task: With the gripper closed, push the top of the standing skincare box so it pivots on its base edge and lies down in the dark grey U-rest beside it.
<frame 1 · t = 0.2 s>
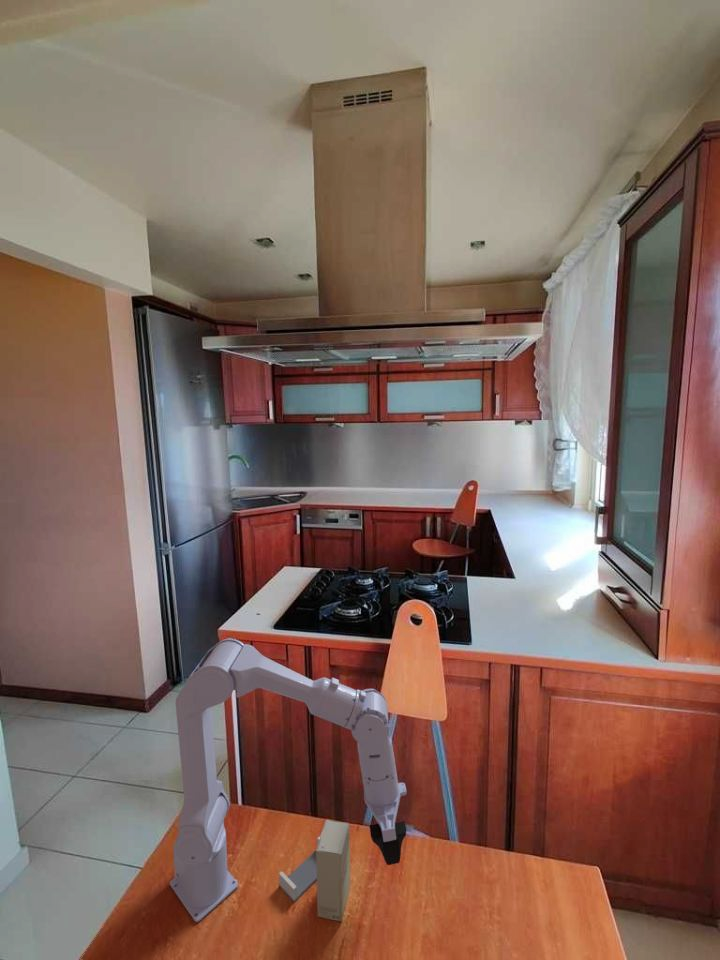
hand: (389, 840, 76), 11 cm above the table, tool pointing down, fingers open, 7 cm apart
u rest: (307, 873, 81), on the table
skincare box: (334, 901, 77), on the table
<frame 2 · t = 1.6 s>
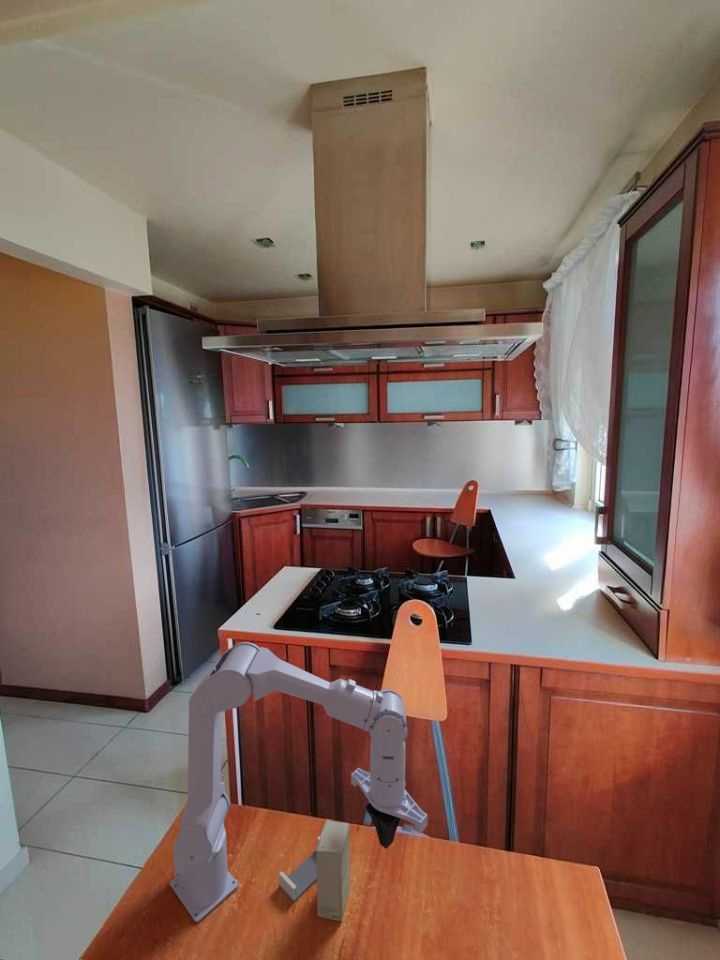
hand: (386, 842, 76), 10 cm above the table, tool pointing down, fingers closed
nothing on the table moved.
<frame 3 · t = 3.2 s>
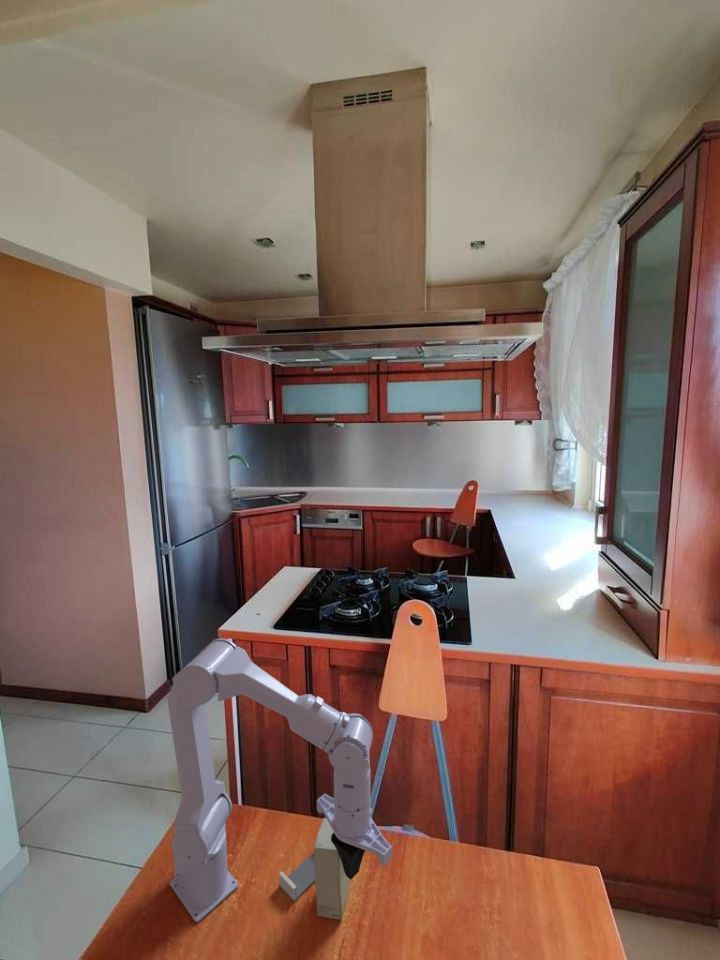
hand: (352, 873, 73), 8 cm above the table, tool pointing down, fingers closed
skincare box: (334, 900, 77), on the table, touching gripper
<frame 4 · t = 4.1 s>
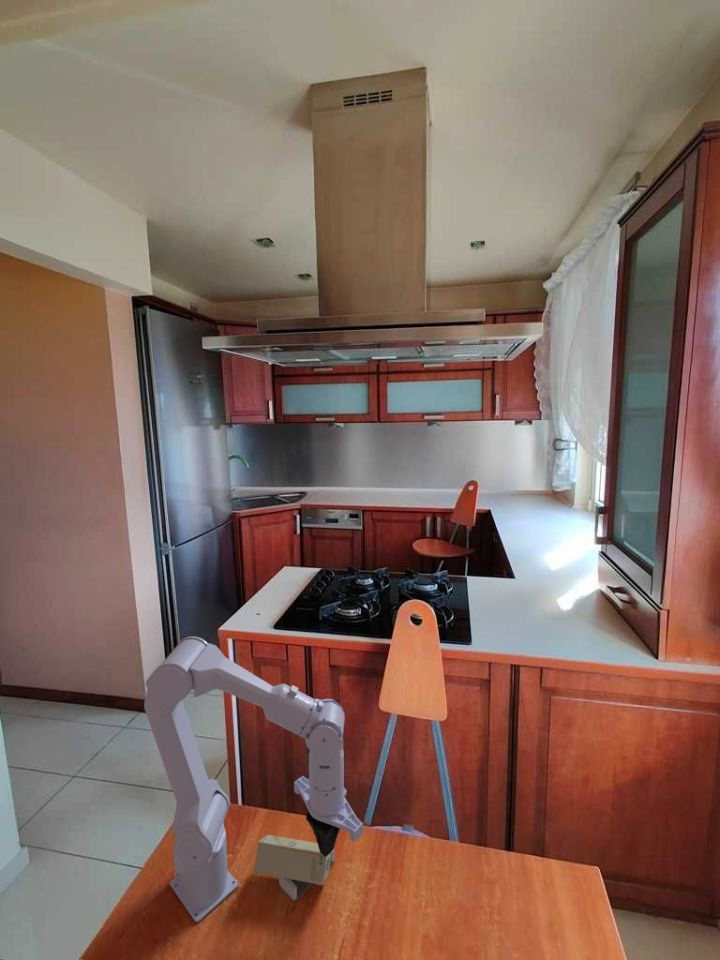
hand: (327, 850, 76), 8 cm above the table, tool pointing down, fingers closed
skincare box: (328, 865, 78), point 4 cm above the table, touching u rest
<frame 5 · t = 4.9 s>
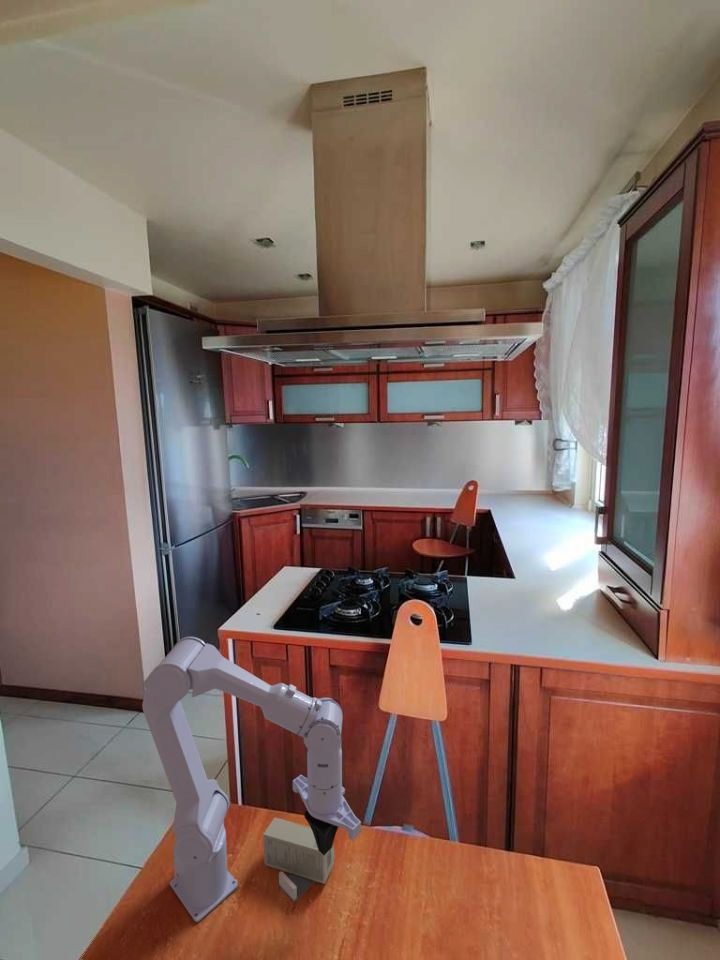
hand: (325, 848, 77), 8 cm above the table, tool pointing down, fingers closed
skincare box: (330, 859, 80), point 4 cm above the table, touching u rest
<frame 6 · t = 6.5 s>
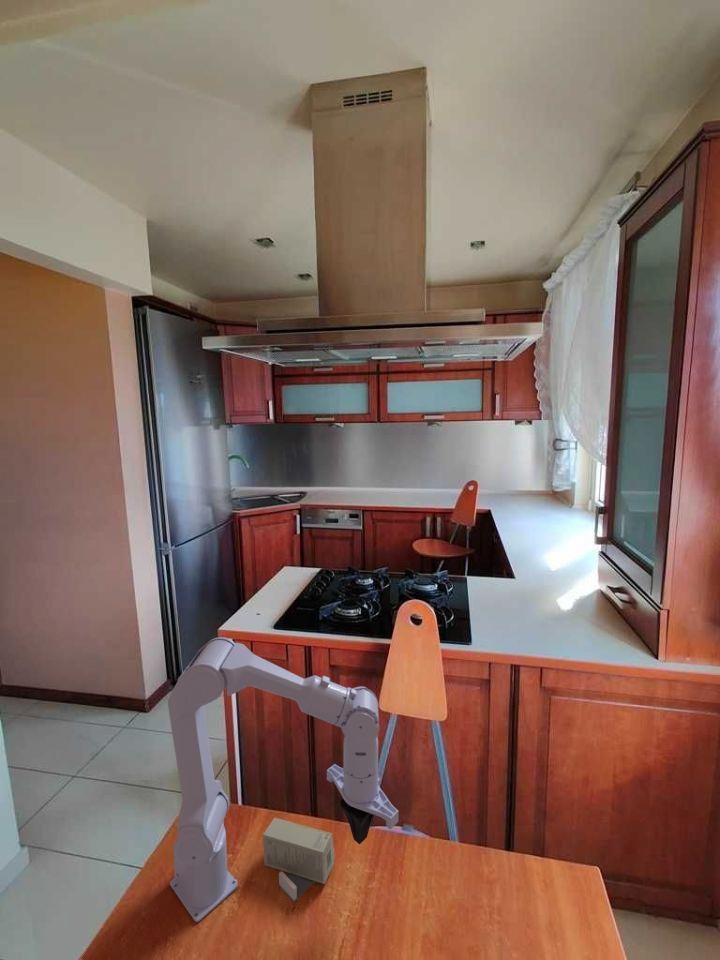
hand: (360, 838, 77), 10 cm above the table, tool pointing down, fingers closed
skincare box: (330, 860, 80), point 4 cm above the table, touching u rest
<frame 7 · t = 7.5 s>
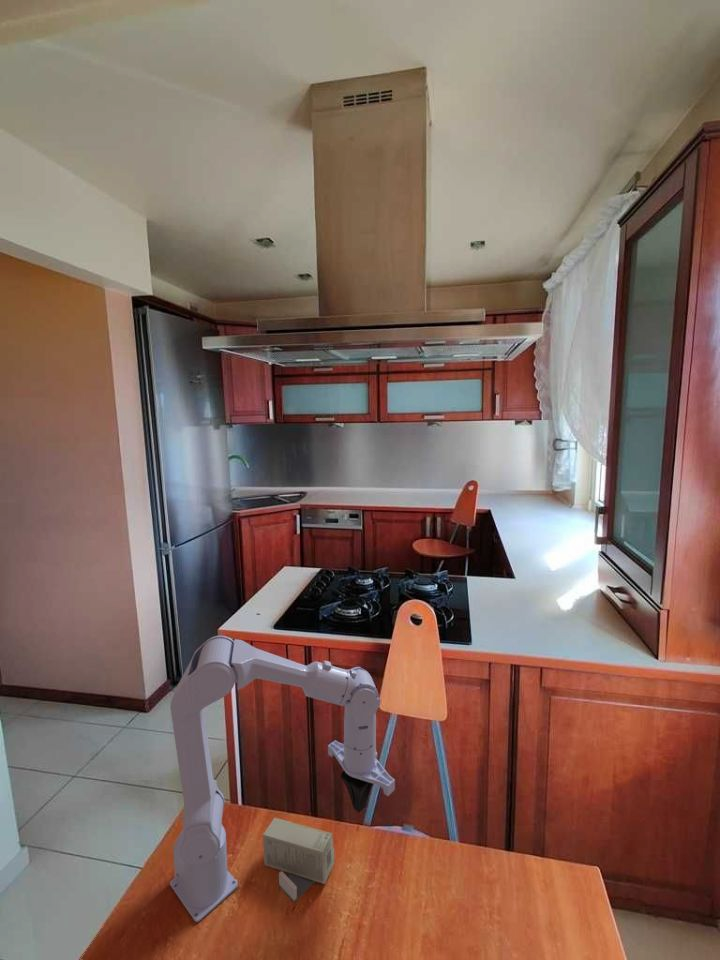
hand: (359, 807, 83), 10 cm above the table, tool pointing down, fingers closed
nothing on the table moved.
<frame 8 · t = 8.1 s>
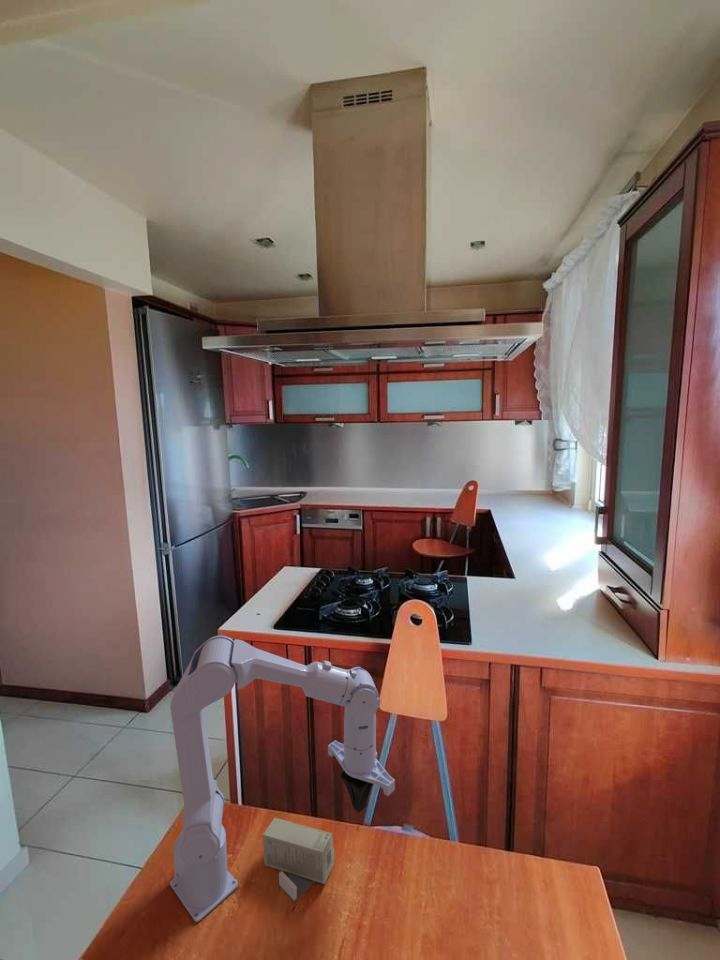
hand: (359, 807, 83), 10 cm above the table, tool pointing down, fingers closed
nothing on the table moved.
at the end: skincare box tilted 93°; skincare box touching table, u rest; skincare box 4.2 cm from the u rest (horizontally) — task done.
